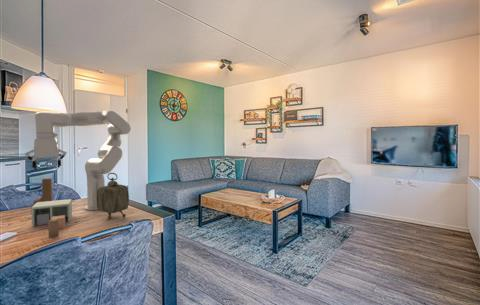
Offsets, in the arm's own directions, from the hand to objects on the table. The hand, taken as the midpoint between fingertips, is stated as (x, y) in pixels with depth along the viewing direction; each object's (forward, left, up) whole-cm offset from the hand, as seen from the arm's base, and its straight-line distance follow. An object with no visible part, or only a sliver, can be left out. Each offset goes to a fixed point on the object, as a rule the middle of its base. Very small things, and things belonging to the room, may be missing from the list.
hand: (47, 168), depth 127 cm
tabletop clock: (-30, +13, -28) cm, 43 cm away
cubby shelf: (-2, +3, -28) cm, 28 cm away
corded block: (-6, +22, -28) cm, 36 cm away
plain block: (+1, +4, -28) cm, 28 cm away
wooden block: (+8, -37, -28) cm, 47 cm away
